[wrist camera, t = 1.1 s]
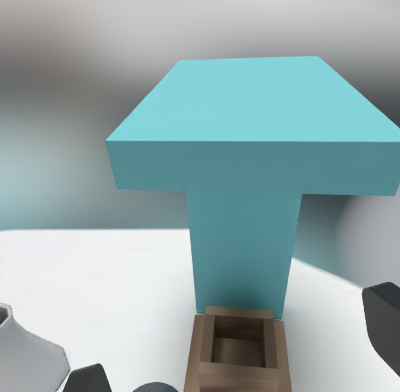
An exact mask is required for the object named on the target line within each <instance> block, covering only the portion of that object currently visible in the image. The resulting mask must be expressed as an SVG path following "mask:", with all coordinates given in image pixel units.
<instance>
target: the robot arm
mask: <svg viewBox="0 0 400 392" xmlns="http://www.w3.org/2000/svg"><path fill="white" fill-rule="evenodd" d="M362 299H363V305H364V312H365V319H366V326H367V332H368V336H369V339H370V342H371V344H372V346H373V347H374V349H375V351H376V352H377V353H378V355H379V356H380V357H381V358H382V359H383V360H384V361H385V362H386V363H387V364H388V365H389V366H390V367H391V368H392V369H393V370H394V372H395V373H396V374H397V375H398V376H399V377H400V288H399V287H398V286H396V285H395V284H393V283H391V282H386V283H382V284H379V285H375V286H372V287H368V288H365V289H363V291H362ZM63 392H112V390H111V388H110V385H109V382H108V379H107V377H106V374H105V371H104V369H103V367H102V365H101V364H99V363H98V364H95V365H91V366H88V367H84V368H81V369H77V370H74V371H72V372H71V373H70V375H69V378H68V380H67V382H66V385H65V387H64V389H63Z"/></svg>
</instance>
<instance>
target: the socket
mask: <svg viewBox="0 0 400 392" xmlns="http://www.w3.org/2000/svg"><path fill="white" fill-rule="evenodd" d="M184 392H291V383H290V375H289V366H288V358H287V349H286V341H285V332H284V324H283V321H274V318H273V311H272V310H259V309H245V308H231V307H217V306H206V312H205V315H195V320H194V326H193V333H192V339H191V346H190V353H189V359H188V366H187V372H186V379H185V386H184Z"/></svg>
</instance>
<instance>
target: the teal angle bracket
mask: <svg viewBox="0 0 400 392" xmlns="http://www.w3.org/2000/svg"><path fill="white" fill-rule="evenodd" d="M106 145H107V149H108V153H109V158H110V162H111V166H112V170H113V174H114V179H115V183H116V187H117V189H139V190H178V191H180V190H181V191H186V195H187V206H188V218H189V229H190V240H191V252H192V263H193V275H194V286H195V297H196V309H197V313H205V312H206V306H217V307H231V308H245V309H259V310H272V311H273V318H276V319H282V313H283V307H284V300H285V294H286V288H287V282H288V276H289V270H290V264H291V258H292V252H293V246H294V239H295V234H296V227H297V221H298V215H299V209H300V203H301V197H302V194H342V195H382V196H395V194H396V191H397V188H398V186H399V183H400V128H399V127H397V126H396V125H395V124H394V123H393V122H392V121H391V120H389V119H388V118H387V117H386V116H385V115H384V114H383V113H382V112H380V111H379V110H378V109H377V108H376V107H375V106H374V105H372V104H371V103H370V102H369V101H368V100H367V99H366V98H365V97H364V96H362V95H361V94H360V93H359V92H358V91H357V90H356V89H355V88H353V87H352V86H351V85H350V84H349V83H348V82H346V80H344V79H343V78H342V77H341V76H340V75H339V74H338V73H336V72H335V71H334V70H333V69H332V68H331V67H329V65H327V64H326V63H325V62H324V61H323V60H322V59H321V58H320V57H318V56H302V57H301V56H299V57H268V58H235V59H201V60H180V61H179V62H178V63H177V64H176V65H175V67H174V68H172V69H171V71H170V72H169V73H168V74H167V75H166V76H165V77H164V78H163V79H162V80H161V81H160V82H159V83H158V85H157V86H156V87H155V88H154V89H153V90H152V91H151V92H150V93H149V94H148V95H147V96H146V98H145V99H144V100H143V101H142V102H141V103H140V104H139V105H138V106H137V107H136V108H135V109H134V110H133V112H132V113H131V114H130V115H129V116H128V117H127V118H126V119H125V120H124V121H123V122H122V123H121V125H120V126H119V127H118V128H117V129H116V130H115V131H114V132H113V133H112V134H111V135H110V136H109V137H108V139H107V140H106Z"/></svg>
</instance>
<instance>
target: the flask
mask: <svg viewBox="0 0 400 392" xmlns="http://www.w3.org/2000/svg"><path fill="white" fill-rule="evenodd" d="M69 370H70V367H69V364H68V361H67V358H66V355H65V352H64V349H63V347H61V346H59V345H56V344H54V343H52V342H49V341H47V340H45V339H42V338H40V337H38V336H36V335H34V334H32V333H30V332H28V331H26V330H25V329H24V328H23V327H22V326H20V325H19V324H18V323H17V322H16V321H15V320H14V318H13V313H12V308H11V306H10V305H6V304H3V303H0V392H55V391H56V390H57V388H58V387H59V385H60V384H61V382H62V381H63V379H64V378H65V376H66V375H67V373H68V371H69Z"/></svg>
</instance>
